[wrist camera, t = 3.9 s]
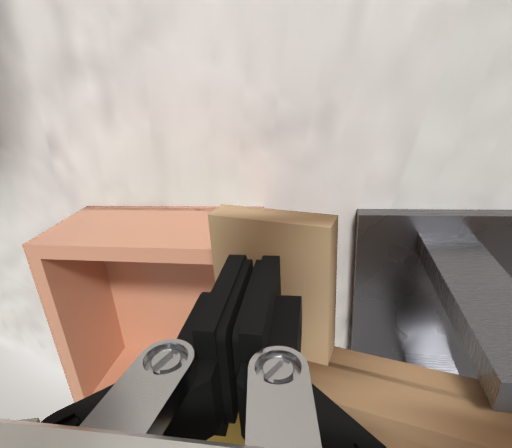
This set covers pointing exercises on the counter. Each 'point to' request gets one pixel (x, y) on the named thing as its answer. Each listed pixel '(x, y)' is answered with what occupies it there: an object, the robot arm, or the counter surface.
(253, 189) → the counter surface
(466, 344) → the pivot stand
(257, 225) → the lever
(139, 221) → the pink open box
